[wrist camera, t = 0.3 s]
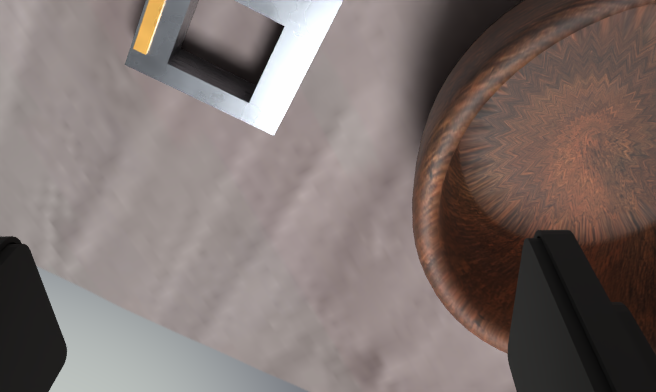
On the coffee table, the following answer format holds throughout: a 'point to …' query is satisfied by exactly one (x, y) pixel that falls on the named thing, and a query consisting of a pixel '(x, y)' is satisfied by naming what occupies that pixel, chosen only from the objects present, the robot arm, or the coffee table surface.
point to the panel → (218, 84)
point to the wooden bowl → (543, 158)
